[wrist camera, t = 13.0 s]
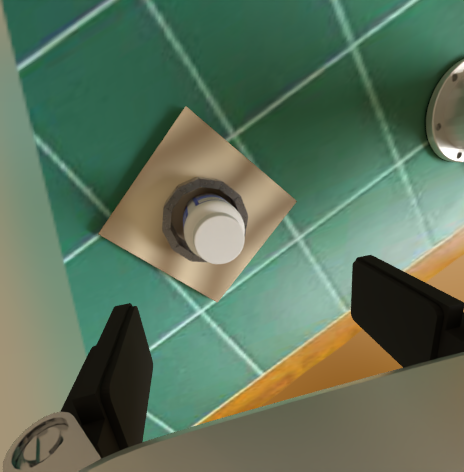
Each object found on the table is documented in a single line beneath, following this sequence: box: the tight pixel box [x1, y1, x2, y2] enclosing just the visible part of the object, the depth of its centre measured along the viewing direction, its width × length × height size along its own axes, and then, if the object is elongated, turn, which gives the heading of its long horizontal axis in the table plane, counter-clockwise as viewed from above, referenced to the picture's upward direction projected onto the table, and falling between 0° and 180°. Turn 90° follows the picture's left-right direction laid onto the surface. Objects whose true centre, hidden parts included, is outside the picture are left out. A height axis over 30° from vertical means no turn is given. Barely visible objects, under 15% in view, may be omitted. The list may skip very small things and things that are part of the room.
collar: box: [162, 177, 248, 262], centre depth 27 cm, size 9×9×3 cm
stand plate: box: [98, 106, 297, 302], centre depth 29 cm, size 16×16×2 cm
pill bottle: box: [183, 193, 245, 264], centre depth 24 cm, size 5×5×10 cm
